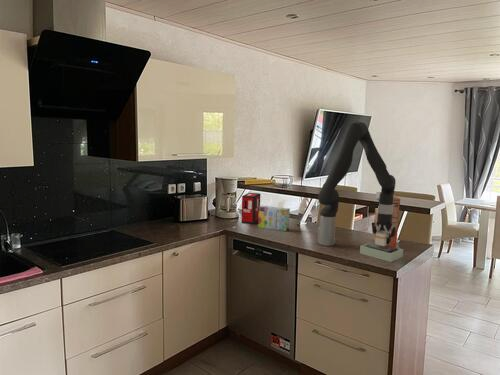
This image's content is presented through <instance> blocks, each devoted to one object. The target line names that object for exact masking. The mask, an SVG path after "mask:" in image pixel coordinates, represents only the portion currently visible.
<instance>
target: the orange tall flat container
mask: <svg viewBox="0 0 500 375" xmlns="http://www.w3.org/2000/svg"><path fill="white" fill-rule="evenodd" d="M380 193H381V191H376V193H375V194H376V195H375V200H376V199H377V200H378V201H379V197H380ZM400 205H401V198H400V197H398V196H396V195H395V194H393V215H392V225H393V226H395V227H397V230H396V233H395V236H394V237H392V238H391V240H390V244H388V245H390V246H394V247H397V242H398V231H399V230H398V229H399V215H400V207H401V206H400ZM374 208H375V207H374ZM377 216H378V208H375V209H374V221H373V222H377ZM376 228H377V229H378V226H376ZM390 231H391V232H392V228H390ZM384 232H385V231H384ZM372 235H373V236H372V239H373V240H374V241H375V238H376V237H375V236H376V234H374V233H373V232H372Z"/></svg>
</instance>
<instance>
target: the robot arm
mask: <svg viewBox="0 0 500 375" xmlns="http://www.w3.org/2000/svg"><path fill="white" fill-rule="evenodd" d="M358 142H359V143H360V144H361V146H362V148H363V150H364V153H365V156H366V160H367V163H368V165H369V166H370V168H371V169H372V171H373V172H374V175H375V178H376V181H377V182H378V185H379V186H381V191H380V192H381V193H380V197H379V206H378V216H377V222H374V221H373V222H371V228H372V229H371V230H372V234H373V233H374V234H376V233H379V232H381V231H385V233H386V234H387V239H386V244H387V245H388V244H389V243H390V240H391V238H392V237H394V236H395V233H396V230H397V227H395V226H393V225H392V215H393V195H395V194H394V193H395V189H396V184H397V183H396V181H397V180H396V178H395V176H394V175H392V174H390V172H389V171H388V169H387V165H386V162H385V161H384V159H383V158H382V156H381V155H380V152H379V151H378V149H377V147H376V145H375V142H374V140H373V139H372V136H371V133H370V130H369V128H368V126H367V124H366V123H365V122H361V121H356V122H352V123H350V124H349V125H348V126H347V128H346V130H345V134H344V137H343V141H342V143H341V145H340V148H339V151H337V154H336V157H335V159H334V161H333V164H332V167H331V168H330V171H329V173H328V175H327V177H326V179H325V182H324V184H323V185H322V187H321V189H320V191H319V193H318V197H317V198H318V202H319V203H320V205H322V206H324V207H323V208H322V209H321V210H320V211H319V212H320V213H319V215H320V216H319V226H318V227H317V241H316V242H317V244H319V245H321V246H325V247H326V246H327V247H328V246H329V247H331V246H332V247H333V246H334V245H335V237H336V223H337V221H336V220H337V212H338V211H339V203H340V202H339V201H340V195H339V192H338V190H337V189H336V187H337V186H338V185H339V183H340V182H341V181H342V180H343V179H344V178H345V177H346V176H347V174H348V173H349V170H350V169H351V166H352V163H353V159H354V158H353V156H354V151H355V148H356V146H357V144H358ZM376 226H378V229H377V228H376ZM390 228H392V232H391V231H390Z"/></svg>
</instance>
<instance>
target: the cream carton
mask: <svg viewBox="0 0 500 375" xmlns="http://www.w3.org/2000/svg"><path fill="white" fill-rule="evenodd" d="M375 237H376V238H375V240H374V242H375V244H377V245H381V246H385V245H387V244H386V239H387V234H386V233H385V232H384V231H381V232H379V233H376V236H375ZM389 244H390V243H389Z"/></svg>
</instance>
